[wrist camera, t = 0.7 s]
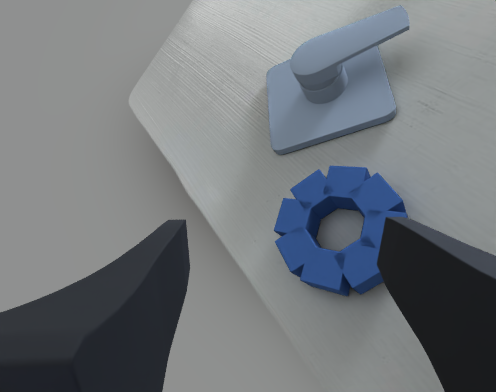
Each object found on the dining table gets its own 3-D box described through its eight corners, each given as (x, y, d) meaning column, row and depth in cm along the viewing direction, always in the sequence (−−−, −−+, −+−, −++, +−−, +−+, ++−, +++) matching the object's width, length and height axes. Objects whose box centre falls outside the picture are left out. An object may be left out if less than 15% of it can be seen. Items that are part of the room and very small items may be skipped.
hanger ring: (438, 249, 24) (437, 238, 21) (323, 317, 26) (311, 313, 23) (359, 160, 30) (353, 144, 27) (271, 221, 32) (258, 210, 29)
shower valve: (427, 63, 24) (250, 128, 30) (430, 108, 28) (275, 157, 34) (390, -30, 30) (248, 41, 36) (397, 19, 34) (269, 75, 40)
